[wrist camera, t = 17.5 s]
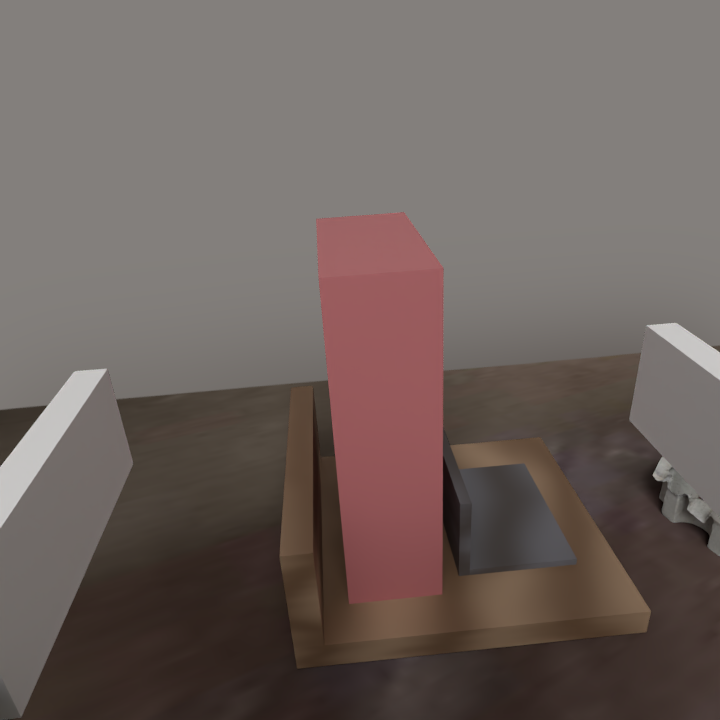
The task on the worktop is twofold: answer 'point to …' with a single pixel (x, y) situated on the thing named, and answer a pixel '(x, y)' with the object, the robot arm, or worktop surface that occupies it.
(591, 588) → the l-shaped wooden stand
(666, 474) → the grey jagged ring
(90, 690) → the worktop surface
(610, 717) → the worktop surface
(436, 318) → the tall pink pillar
